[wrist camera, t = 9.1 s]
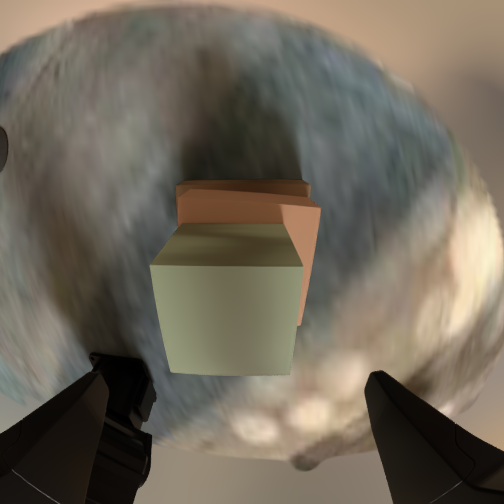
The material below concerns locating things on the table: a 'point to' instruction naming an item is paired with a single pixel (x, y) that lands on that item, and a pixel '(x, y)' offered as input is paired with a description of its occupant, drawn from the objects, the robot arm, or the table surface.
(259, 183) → the bottom slab
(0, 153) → the sundae
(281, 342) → the cube
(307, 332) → the table surface
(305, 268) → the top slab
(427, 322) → the table surface
